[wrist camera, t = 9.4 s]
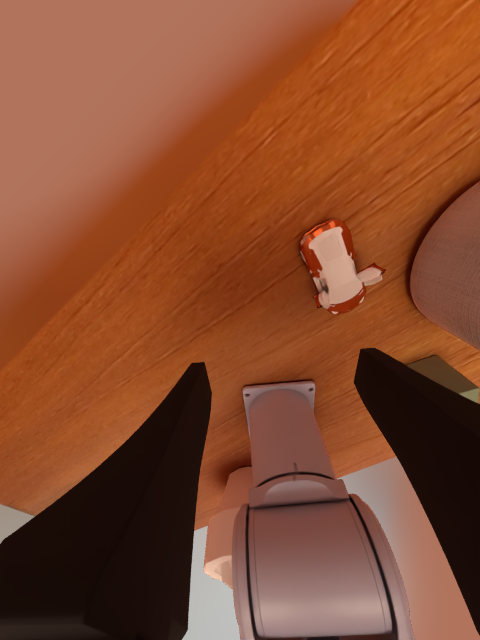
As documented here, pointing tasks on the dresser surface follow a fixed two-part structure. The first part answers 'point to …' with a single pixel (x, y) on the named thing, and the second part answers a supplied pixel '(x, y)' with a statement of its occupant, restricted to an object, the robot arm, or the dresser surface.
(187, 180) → the dresser surface
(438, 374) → the sage block
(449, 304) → the planter
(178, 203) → the dresser surface
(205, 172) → the dresser surface
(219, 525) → the potted plant
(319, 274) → the toy car
